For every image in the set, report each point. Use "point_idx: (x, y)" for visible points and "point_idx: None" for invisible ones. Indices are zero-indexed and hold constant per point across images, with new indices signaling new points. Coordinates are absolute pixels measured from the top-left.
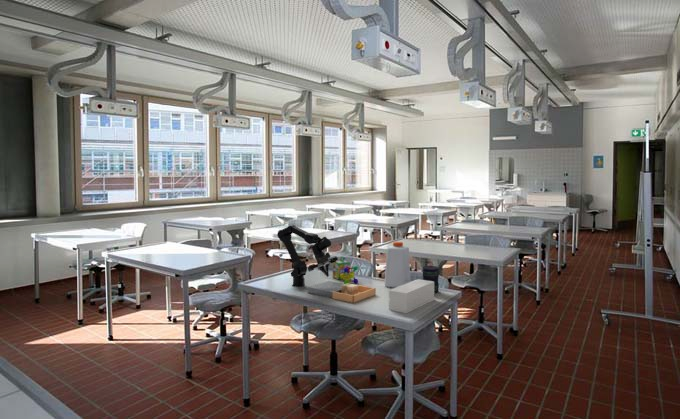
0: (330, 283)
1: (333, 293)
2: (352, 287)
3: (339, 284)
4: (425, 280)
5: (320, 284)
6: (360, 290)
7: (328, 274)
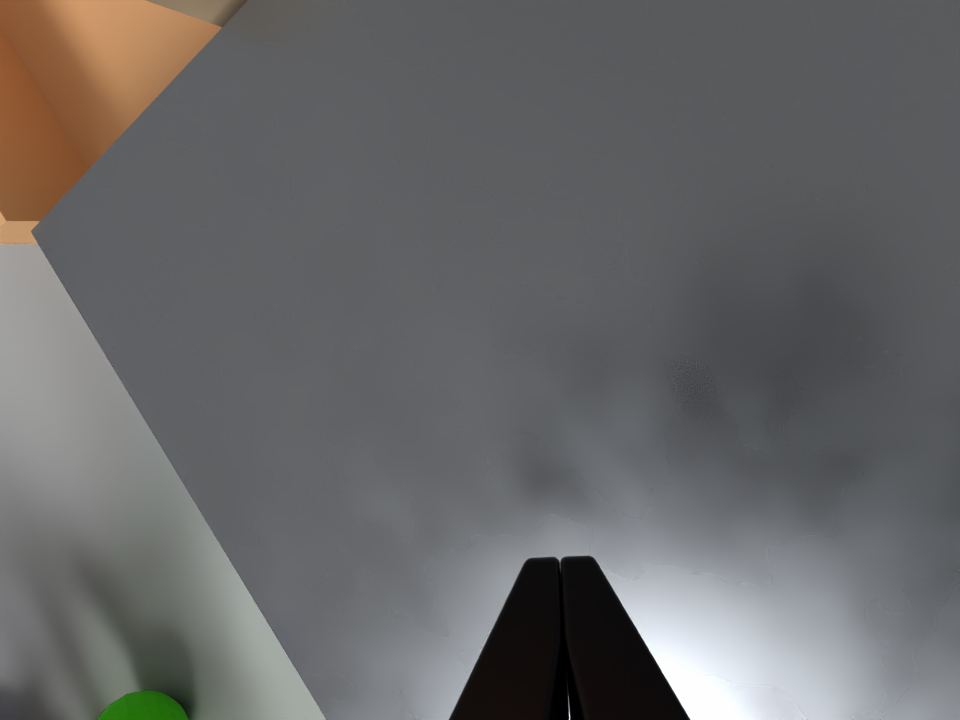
0: None
1: None
2: None
3: (301, 461)
4: None
5: (832, 703)
6: (12, 82)
7: (507, 612)
